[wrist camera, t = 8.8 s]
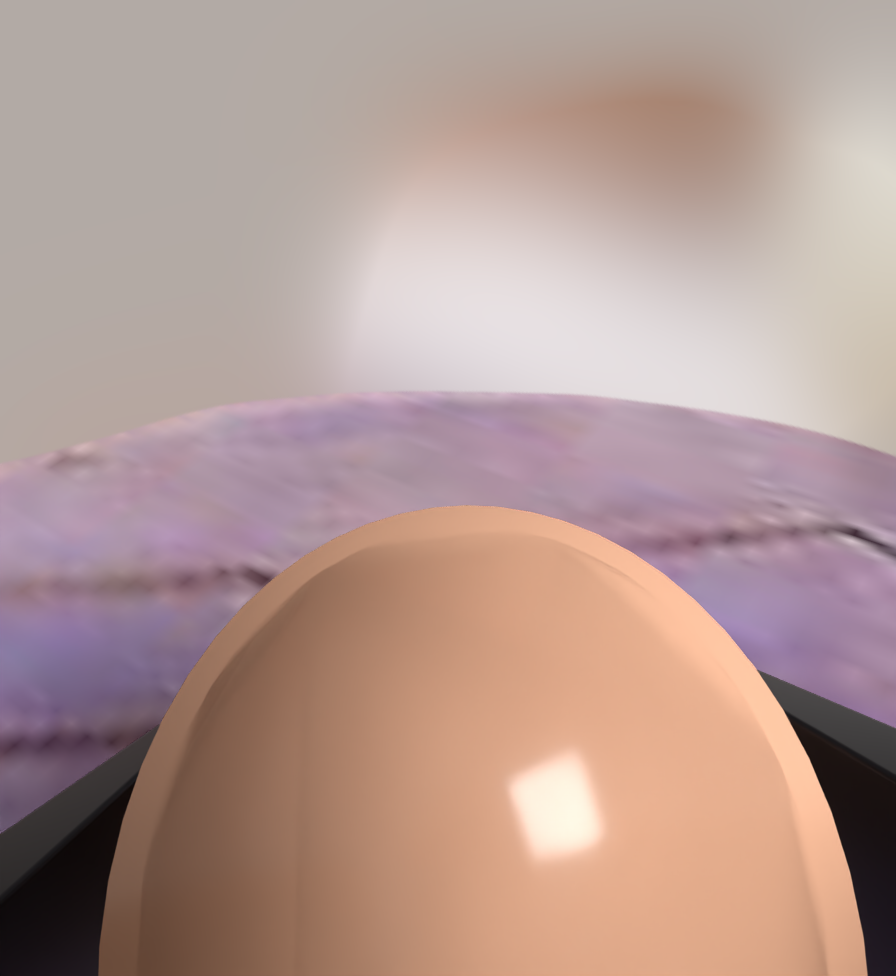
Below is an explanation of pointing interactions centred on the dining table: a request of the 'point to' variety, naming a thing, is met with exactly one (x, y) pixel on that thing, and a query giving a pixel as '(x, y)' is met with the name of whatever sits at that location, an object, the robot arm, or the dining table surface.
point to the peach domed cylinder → (477, 777)
